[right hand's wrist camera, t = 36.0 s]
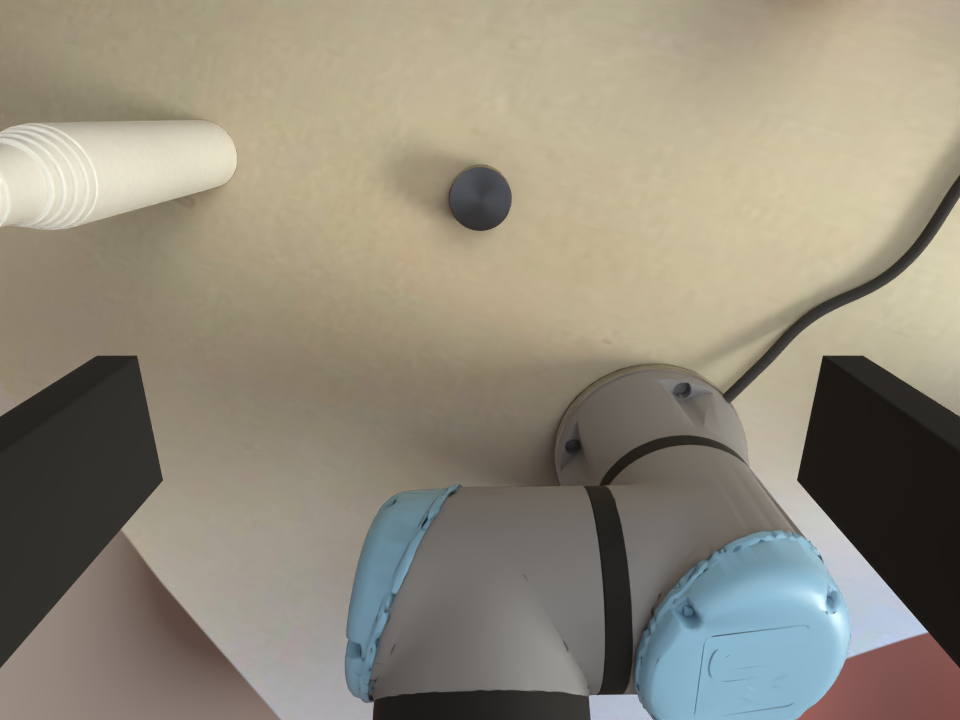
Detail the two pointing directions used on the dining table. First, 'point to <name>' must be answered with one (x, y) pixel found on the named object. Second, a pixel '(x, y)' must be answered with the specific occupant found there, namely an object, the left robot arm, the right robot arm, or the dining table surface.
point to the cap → (480, 197)
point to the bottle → (106, 168)
